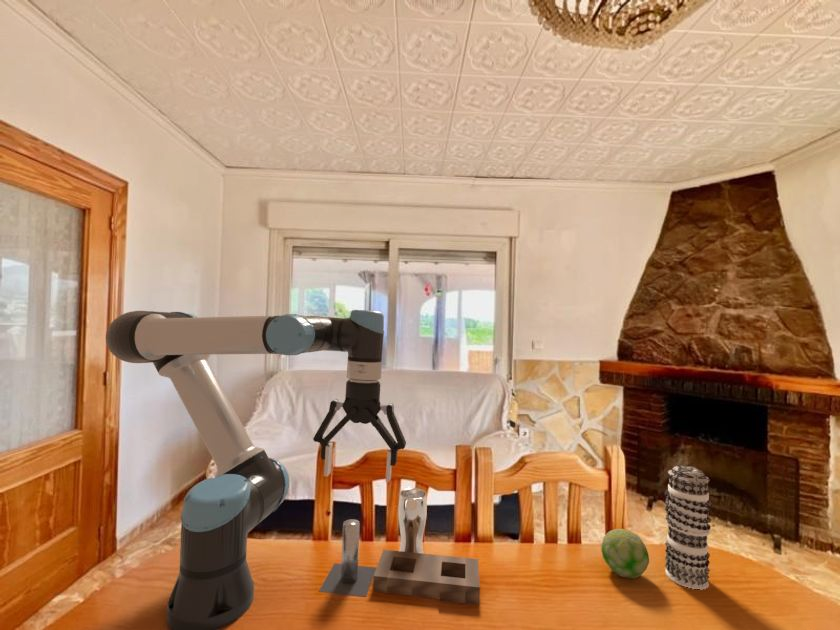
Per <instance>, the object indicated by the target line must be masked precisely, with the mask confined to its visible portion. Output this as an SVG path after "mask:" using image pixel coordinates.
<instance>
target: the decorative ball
mask: <svg viewBox="0 0 840 630" xmlns="http://www.w3.org/2000/svg"><path fill="white" fill-rule="evenodd" d="M601 541H602V542H601V547H600V549H601V550H600V551H601V553H602V558H603V561H604V562H605V563H606V565H607V566H608V568H609V569H610V570H611V571H612V572H614V573H615V574H616V575H618V576H620V577H621V578H624V579H625V578H627V579H628V578H629V579H636V578H638V577H641V576H643V573H645V571H646V570H647V568H648V566H649V564H650V558H649V557H650V556H649V552H648V548H647V547H646V545H645V543H644V541H643V540H642V538H641V537H640V536H639V535H638V534H636V533H635V532H632V531H631V530H628V529H624V528H614V529H612V530H609V531H608V532H607V533H606V534H605V536H603V538H602V540H601Z"/></svg>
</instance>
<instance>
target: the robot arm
mask: <svg viewBox="0 0 840 630" xmlns="http://www.w3.org/2000/svg"><path fill="white" fill-rule="evenodd" d="M384 318H385V315H384V314H383V313H382V312H381V311H378V310H377V311H376V310H366V309H365V310H363V309H353V310H351V311H350V315H349V317H344V318H343V317H342V318H341V317H333V316H332V317H331V316H330V317H329V316H320V315H319V316H318V315H300V314H298V313H297V314H295V313H292V314H291V313H287V314H283V315H282V314H281V315H253V316H252V315H251V316H250V315H249V316H248V315H247V316H246V315H245V316H210V317H209V316H208V317H205V316H204V317H199V316H196V315H194V314H191V313H186V312H183V311H170V312H168V311H167V312H164V311H152V310H151V311H147V310H134V311H129V312H126V313H122V314H120V315H119V316H117V317H116V318H115V319H113V320H112V321H111V323H110V324H109V325H108V328H107V330H106V333H105V343H106V346H107V348H108V350H109V352H110V353H111V354H112V355H113V356H114V357H116V358H117V359H118V360H120V361H123V362H127V363H129V364H147V363H148V364H149V363H150V364H151V363H152V364H153V365H154V367H155V369H156V371H157V373H158V375H159V376H161V377H164V378H168V379H170V380H171V383H172V385H173V387H174V389H175V391H176V392H177V394H178V396H179V398H180V400H181V402H182V403H183V405H184V407H185V410H186V411H187V413H188V415H189V417H190V418H191V420H192V422H193V424H194V426H195V429H196V430H197V431H198V433H199V435H200V438H201V439H202V441H203V443H204V445H205V446H206V449H207V450H208V452H209V454H210V456H211V458H212V459H213V461H214V464H215V465H216V467H217V471H216V474H215V476H214V477H209V478H205V479H203V480H202V481H200V482H198V483H196V484H195V485H193V487H191V488H190V489H189V491H187V493H186V494H185V496H184V499H183V504H182V510H181V514H180V522H181V525H180V526H181V530H180V548H179V549H180V554H179V557H180V558H179V572H178V575H177V579H176V580H175V583H174V586H173V587H172V592H171V593H170V597H169V598H168V601H167V604H166V605H167V606H166V614H165V615H166V616H165V619H166V624H167V627H169V628H170V630H220V629H223V628H224V627H226V626H229V625H230V624H232V623H234V622H235V621H237V620H238V619H240V618H241V617H242V616H244V615H245V613H247V611H248V610H249V609H250V608H251V606H252V604H253V601H254V597H255V583H254V580H253V578H252V574H251V570H250V568H249V565H248V564H249V563H248V561H247V546H248V545H247V544H248V535H249V533H250V532H251V531H252V530H253V529H254V528H255V527H257V526H258V525H259V524H260V523H261V522H262V521H263V520H265V519H266V518H267V517H268V516H270V515H271V514H273V513H274V512H276V510H277V509H278V508H279V507H280V506H281V504H282V503H283V502H284V501H285V499H286V497H287V496H288V493H289V490H290V476H289V473H288V470H287V468H286V466H285V465H284V464H283V463H282V462H281V461H280V460H278V459H277V460H276V459H275V458H272V457H269V456H268V454H267V453H266V451H265V449H264V448H263V447H258V446H255V445H254V444H253V442H252V440H251V438H250V436H249V435H248V432H247V431H246V429H245V427H244V425H243V423H242V422H241V420H240V418H239V416H238V414H237V413H236V411H235V409H234V406H233V405H232V403H231V402H230V399H229V398H228V396H227V394H226V392H225V391H224V388H223V387H222V385H221V383H220V382H219V380H218V377H217V376H216V375H215V372H214V370H213V369H212V366H211V365H210V363H209V357H210V355H282V356H298V355H301V354H305V353H306V354H307V353H314V352H321V351H325V352H326V351H328V352H329V351H330V352H343V353H346V352H347V367H346V378H347V379H348V380H347V381H346V383H345V395H344V397H345V398H344V401H341V400H339V399H338V398H334V399H333V400H331V401H330V403H329V409H328V411H327V413H326V416H325V417H324V419H323V421H322V422H321V424H320V426H319V428H318V429H317V430H316V433H315V434H314V437H313V438H312V439H313V442H314V443H318V444H320V445H321V449H320V458H321V460H322V461H323V460H324V467H323V468H324V470H323V477H328V476H329V475H330V474H331V473H332V463H333V462H332V461H333V447H334V443H333V442H330V441H331V440H332V439H333V438H334V437H335V436H336V435H337V434H338V433H339V432H340V431H341V430H342V429H343V428H344V427H345V425H346V424H347V423H348V422H349V421H351V422H352V423H353V424H358V423H360V424H363V425H367V424H369V423H370V424H371V425H372V426H373V427H374V428H375V430H376V431H377V432H378V435H380V436H381V438H382V439H383V441H384V442H385V443H386V445H387V446H388V450H387V452H386V453H387V454H386V467H385V468H386V470H385V483H390V481H391V479H392V467H394V466H395V467H396V464H397V462H398V451H400V450H404V449H405V448H406V445H407V442H406V439H405V436H404V434H403V432H402V430H401V429H402V428H401V427H400V424H399V421H398V419H397V417H396V415H395V408H394V404H393V403H392V402H389V403H388V404H381V400H380V399H381V397H380V396H381V382H380V380H381V379H382V369H383V367H382V365H383V361H382V360H383V348H384V347H383V346H384V336H385V330H384V328H385V327H384V325H385V324H384V323H385V322H384ZM341 409H342V410H344V412H345V414H346V415H345V416H344V417H343V418H342V419H341V420H340V421H339V422H338V423H337V424H336V425H335V426H334V428H332V429H331V430H330V431H329V432H328V433H327V435H326V436H325V432H326V431H327V429H328V428H329V425H330V424H331V423H332V420H333V418H334V417H335V415H336V413H337V412H338V411H339V410H341ZM380 411H382V412H383V414H384V415H386V418H387V420H388V423H389V425H390V427H391V429H392V433H393V434H394V435H393V436H394V437H395V439H394V437H393V436H392V435H391V433H390V431H389V430H388V429H387V427H386V426H385V424H384V423H383V421H382V419H381V418H380V416H379V415H378V414H379V413H380Z"/></svg>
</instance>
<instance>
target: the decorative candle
mask: <svg viewBox="0 0 840 630" xmlns="http://www.w3.org/2000/svg"><path fill="white" fill-rule="evenodd" d="M667 473H668V475H669V477H668V481H669V482H668V484H667V489H666V490H665V492H664V496H665V498H666V499H665V502H664V504H665V505H666V506H665V509H664V510H665V513H666V515H665V516H666V517H665V521H666V522H665V523H666V525H667V527H668V528H667V532H668V533H667V534H666V536H667V537H666V541H665V546H666V549H664V551H665V553H666V555H664V560H665V563H664V566H665V569H664V572H665V575H666V577H667V578H669V580H670V581H672V582H674V583H675V584H677V585H679V586H681V585H682V587H683V586H684V587H683V588H686V587H688V588H687V589H690V588H692V589H691V590H694V589H700V590H699V591H704V590H707V589H708V588H709V586H710V583H709V579H710V576H709V574H710V571H711V569H710V568H709V565H710V564H711V562H710V560H709V559H710V557H711V554H710V553H709V545H708V536H709V535H710V533H711V531H710V530H711V528H712V526H711V525H710V524H709V523H711V520H712V519H711V518H710V517H709V515H710V514H712V513H713V511H712V509H710V508H711V507H712V506H713V504H712V502H711V501H710V500H709V499H710V498H709V497H710V493H709V490H708V489H709V482H710V481H711V480H710V478H709V477H708V476H706V475H705V473H704V472H703V471H702V470H700V469H699V468H696V467H693V466H690V465H689V466H688V465H675V466H674V467H672V469H669V470H668V471H667ZM706 588H707V589H706ZM703 589H704V590H703Z"/></svg>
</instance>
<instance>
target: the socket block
mask: <svg viewBox="0 0 840 630" xmlns="http://www.w3.org/2000/svg"><path fill="white" fill-rule="evenodd" d="M375 568H376V571H375V573H374V577H373V579H372V582H373V583H372V586H373V587H372V591H373V592H376V593H377V592H378V593H386V594H392V595H394V594H395V595H404V596H412V597H420V598H429V599H439V601H442V602H450V603H451V602H452V603H459V604H468V605H477V606H479V605H480V593H481V592H480V590H481V586H480V569H479V568H480V566H479V558H473V557H472V558H469V557H462V556H461V557H460V556H452V555H441V554H432V553H431V554H430V553H424V552H423V553H413V552H403V551H399V550H393V549H392V550H389V549H383V550H382V552H381V554H380V557H379V560H378V563H377V566H376V567H375Z"/></svg>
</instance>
